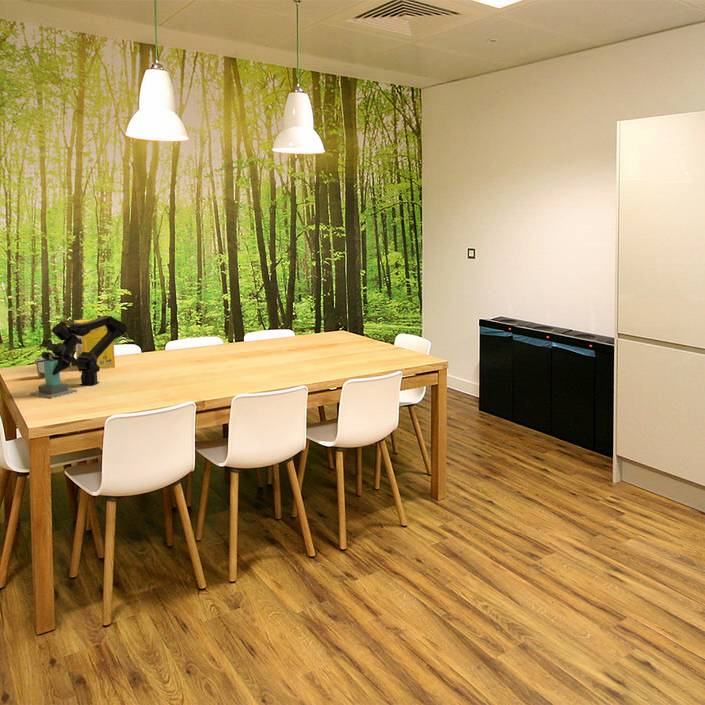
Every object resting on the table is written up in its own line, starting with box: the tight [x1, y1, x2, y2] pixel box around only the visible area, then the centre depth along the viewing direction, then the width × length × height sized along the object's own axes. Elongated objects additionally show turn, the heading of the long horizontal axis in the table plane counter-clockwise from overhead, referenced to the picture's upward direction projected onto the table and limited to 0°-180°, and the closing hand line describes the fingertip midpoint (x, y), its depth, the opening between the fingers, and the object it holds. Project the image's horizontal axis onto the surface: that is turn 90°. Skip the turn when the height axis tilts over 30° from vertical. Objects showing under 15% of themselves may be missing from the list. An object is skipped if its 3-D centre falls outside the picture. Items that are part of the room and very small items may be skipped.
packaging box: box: [73, 318, 116, 369], centre depth 372 cm, size 16×16×25 cm
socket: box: [29, 382, 78, 399], centre depth 314 cm, size 14×14×4 cm
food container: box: [34, 356, 46, 380], centre depth 348 cm, size 12×6×10 cm, turn 141°
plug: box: [44, 357, 61, 387], centre depth 313 cm, size 4×4×14 cm
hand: (49, 374), depth 312 cm, fingers closed on plug, 4 cm apart
